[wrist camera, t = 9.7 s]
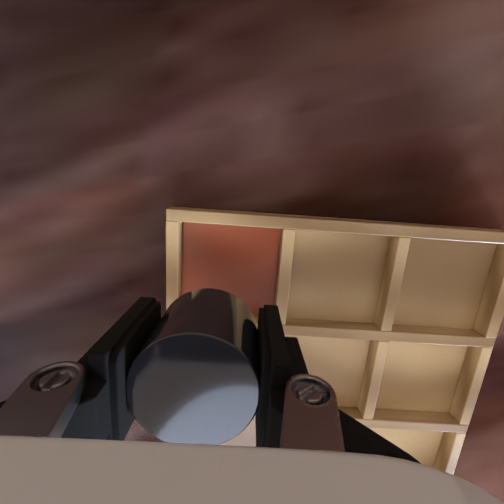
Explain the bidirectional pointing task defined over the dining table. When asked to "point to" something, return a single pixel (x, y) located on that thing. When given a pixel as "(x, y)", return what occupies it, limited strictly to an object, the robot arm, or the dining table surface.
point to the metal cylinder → (197, 371)
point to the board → (362, 310)
